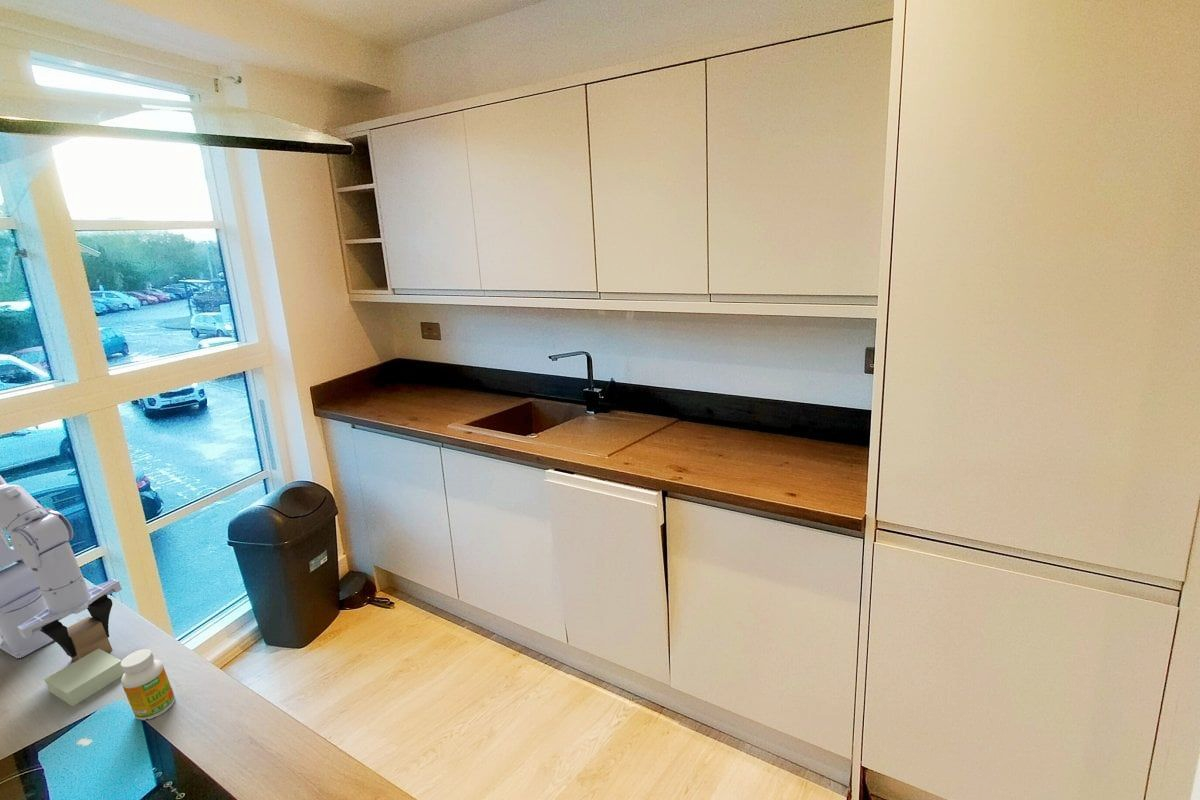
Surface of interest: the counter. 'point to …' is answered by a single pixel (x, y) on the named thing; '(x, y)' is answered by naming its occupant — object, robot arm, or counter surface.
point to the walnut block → (88, 637)
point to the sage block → (85, 676)
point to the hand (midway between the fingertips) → (88, 645)
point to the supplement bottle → (146, 685)
